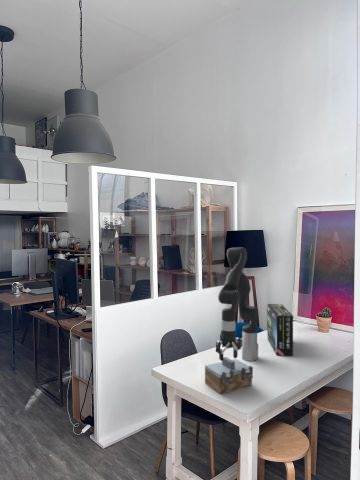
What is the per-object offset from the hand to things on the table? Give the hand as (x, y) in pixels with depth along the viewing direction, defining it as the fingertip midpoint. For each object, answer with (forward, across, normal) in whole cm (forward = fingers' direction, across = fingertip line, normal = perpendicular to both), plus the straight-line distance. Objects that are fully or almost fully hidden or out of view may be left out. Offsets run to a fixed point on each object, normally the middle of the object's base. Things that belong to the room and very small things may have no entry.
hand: (228, 359), depth 189 cm
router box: (+14, -66, -34) cm, 75 cm away
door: (+6, 0, 0) cm, 6 cm away
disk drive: (+14, -44, -55) cm, 72 cm away
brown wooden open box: (+14, 0, +1) cm, 14 cm away
